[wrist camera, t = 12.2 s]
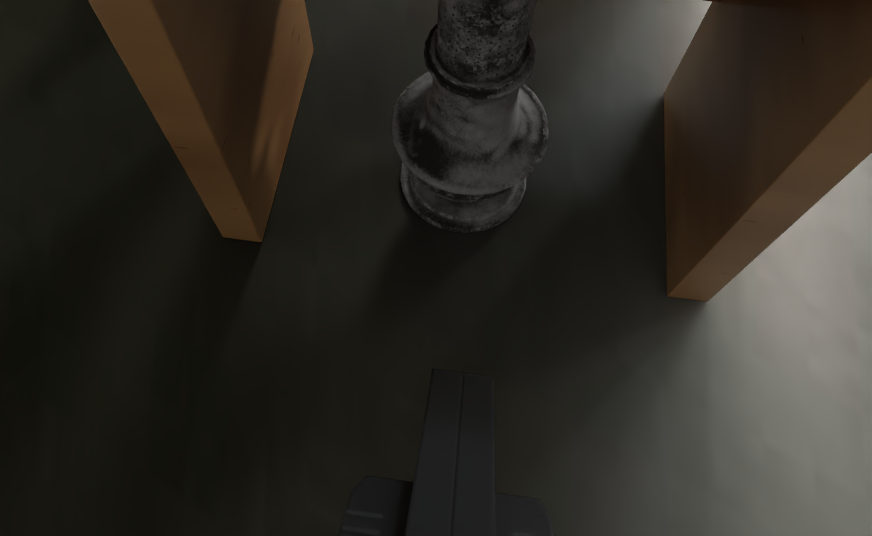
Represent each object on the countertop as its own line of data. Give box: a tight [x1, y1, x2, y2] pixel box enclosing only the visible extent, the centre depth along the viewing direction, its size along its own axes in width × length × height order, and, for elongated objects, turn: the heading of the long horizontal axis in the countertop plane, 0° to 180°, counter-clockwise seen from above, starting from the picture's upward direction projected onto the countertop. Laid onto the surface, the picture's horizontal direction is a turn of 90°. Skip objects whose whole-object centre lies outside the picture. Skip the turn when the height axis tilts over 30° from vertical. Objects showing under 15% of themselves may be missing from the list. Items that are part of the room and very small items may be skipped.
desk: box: [88, 0, 872, 301], centre depth 20 cm, size 10×21×17 cm, turn 83°
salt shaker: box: [391, 0, 549, 233], centre depth 22 cm, size 6×6×12 cm
